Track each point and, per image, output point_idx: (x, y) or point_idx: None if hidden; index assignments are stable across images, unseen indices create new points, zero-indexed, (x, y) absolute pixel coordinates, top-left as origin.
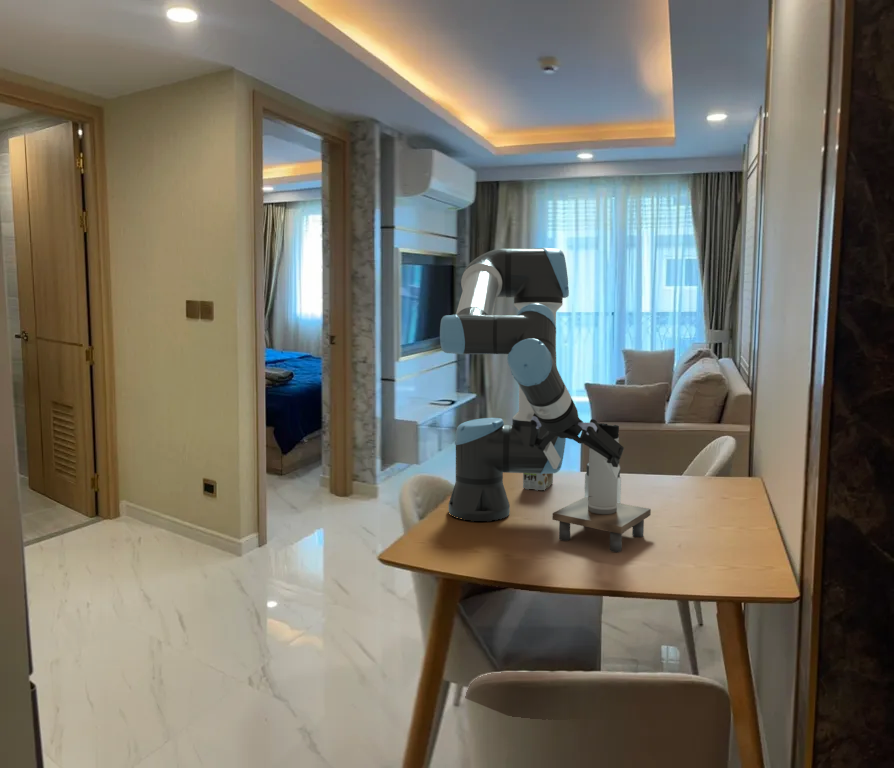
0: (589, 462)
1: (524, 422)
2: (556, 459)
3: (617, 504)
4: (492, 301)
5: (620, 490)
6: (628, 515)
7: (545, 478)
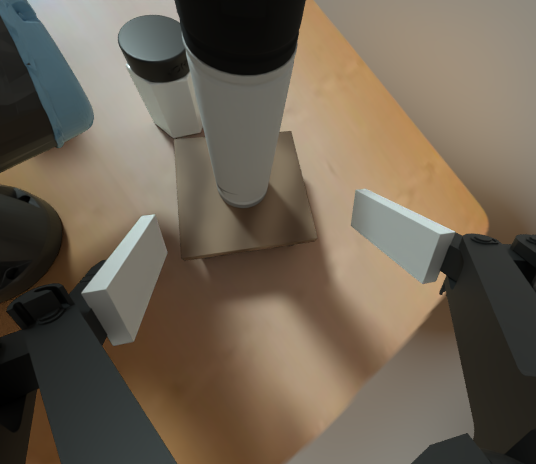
0: (213, 140)
1: None
2: (154, 246)
3: None
4: None
5: None
6: (288, 180)
7: None
